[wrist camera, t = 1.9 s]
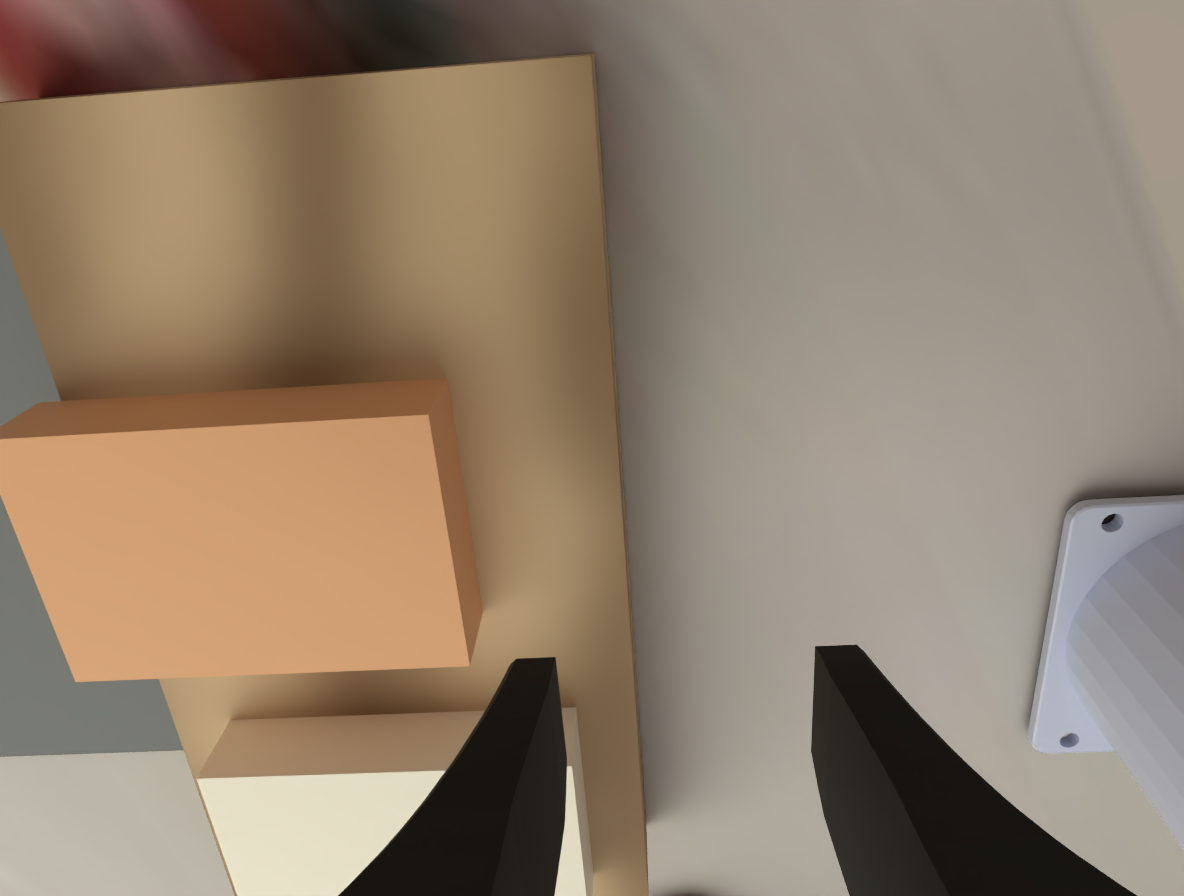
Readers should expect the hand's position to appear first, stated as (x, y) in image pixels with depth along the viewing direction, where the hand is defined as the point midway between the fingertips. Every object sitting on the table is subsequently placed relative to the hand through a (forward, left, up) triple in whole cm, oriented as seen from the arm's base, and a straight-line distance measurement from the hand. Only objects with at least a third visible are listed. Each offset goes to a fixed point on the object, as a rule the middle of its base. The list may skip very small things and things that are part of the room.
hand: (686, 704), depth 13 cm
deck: (+7, +2, -9) cm, 12 cm away
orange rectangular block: (+9, 0, -7) cm, 11 cm away
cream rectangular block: (+7, +9, -7) cm, 13 cm away
